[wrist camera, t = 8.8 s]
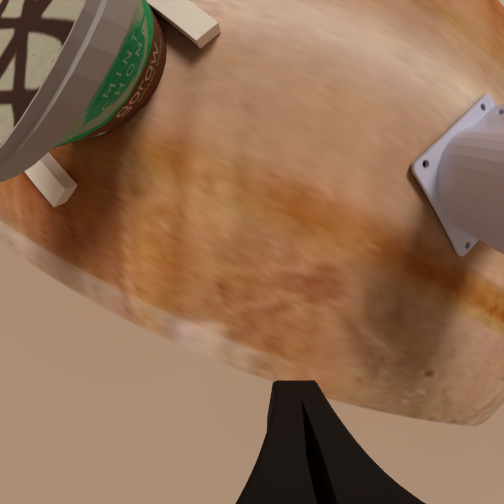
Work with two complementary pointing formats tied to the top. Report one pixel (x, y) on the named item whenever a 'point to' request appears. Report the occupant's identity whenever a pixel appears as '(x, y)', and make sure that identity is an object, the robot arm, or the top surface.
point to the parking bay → (182, 18)
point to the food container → (72, 72)
